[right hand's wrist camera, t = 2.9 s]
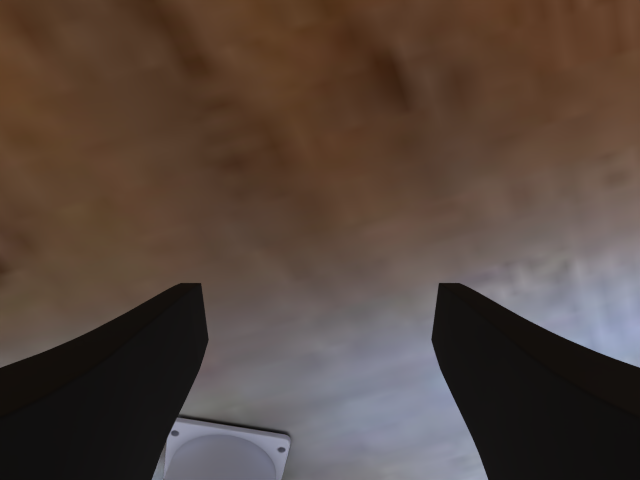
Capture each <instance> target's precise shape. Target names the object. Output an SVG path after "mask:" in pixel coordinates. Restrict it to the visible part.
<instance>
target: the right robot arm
mask: <svg viewBox="0 0 640 480" xmlns="http://www.w3.org/2000/svg"><path fill="white" fill-rule="evenodd" d="M208 340H209V339H208V332H207V324H206V317H205V309H204V302H203V294H202V287H201V283H180V284H178V285H175V286H173V287H171V288H169V289H168V290H166V291H164V292H162V293H160V294H158V295H157V296H155V297H153V298H151V299H150V300H148V301H146V302H144V303H143V304H141V305H139V306H137V307H136V308H134V309H132V310H130V311H129V312H127V313H125V314H123V315H121V316H119V317H117V318H115V319H113V320H112V321H110V322H108V323H106V324H104V325H102V326H100V327H98V328H96V329H94V330H92V331H90V332H88V333H86V334H84V335H82V336H80V337H78V338H75V339H73V340H71V341H69V342H66V343H64V344H62V345H59V346H57V347H55V348H52V349H50V350H47V351H45V352H42V353H40V354H37V355H34V356H32V357H29V358H26V359H23V360H21V361H18V362H15V363H12V364H10V365H7V366H4V367H1V368H0V480H152V477H153V474H154V471H155V469H156V466H157V463H158V460H159V457H160V455H161V452H162V450H163V447H164V445H165V443H166V440H167V444H166V455H165V467H164V478H163V480H281V479H282V476H283V472H284V468H285V464H286V460H287V456H288V452H289V448H290V443H291V439H290V437H289V436H288V435H285V434H279V433H273V432H266V431H260V430H254V429H247V428H241V427H235V426H229V425H222V424H216V423H210V422H203V421H197V420H191V419H184V418H177V417H178V415H179V412H180V410H181V408H182V406H183V404H184V402H185V400H186V398H187V395H188V393H189V391H190V389H191V387H192V385H193V383H194V380H195V378H196V376H197V374H198V372H199V369H200V366H201V363H202V360H203V357H204V354H205V350H206V347H207V343H208ZM431 340H432V343H433V347H434V350H435V354H436V357H437V360H438V363H439V366H440V369H441V372H442V374H443V376H444V378H445V380H446V383H447V385H448V387H449V389H450V391H451V393H452V395H453V398H454V400H455V402H456V404H457V406H458V408H459V410H460V412H461V415H462V417H463V419H464V421H465V423H466V425H467V427H468V429H469V431H470V434H471V436H472V438H473V440H474V443H475V445H476V447H477V450H478V452H479V455H480V457H481V460H482V463H483V466H484V469H485V471H486V474H487V477H488V480H640V368H639V367H636V366H633V365H630V364H628V363H625V362H622V361H619V360H616V359H613V358H611V357H608V356H606V355H603V354H600V353H598V352H595V351H593V350H591V349H588V348H586V347H584V346H581V345H579V344H577V343H574V342H572V341H569V340H567V339H565V338H563V337H561V336H558V335H556V334H554V333H552V332H550V331H548V330H546V329H544V328H542V327H540V326H538V325H536V324H534V323H532V322H530V321H528V320H526V319H525V318H523V317H521V316H519V315H517V314H515V313H514V312H512V311H510V310H508V309H506V308H505V307H503V306H501V305H499V304H498V303H496V302H494V301H492V300H491V299H489V298H487V297H485V296H484V295H482V294H480V293H478V292H476V291H475V290H473V289H471V288H469V287H467V286H465V285H463V284H460V283H439V287H438V294H437V302H436V309H435V317H434V324H433V332H432V339H431ZM175 430H176V431H175Z"/></svg>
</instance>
